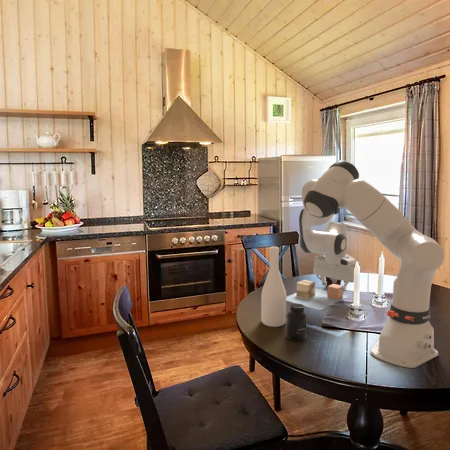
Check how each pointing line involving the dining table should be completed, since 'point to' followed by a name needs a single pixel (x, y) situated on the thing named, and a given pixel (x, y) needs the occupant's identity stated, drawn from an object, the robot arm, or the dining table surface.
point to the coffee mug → (331, 281)
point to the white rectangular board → (314, 300)
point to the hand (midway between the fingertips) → (333, 287)
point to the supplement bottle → (296, 323)
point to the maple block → (305, 288)
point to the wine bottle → (273, 294)
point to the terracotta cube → (334, 291)
